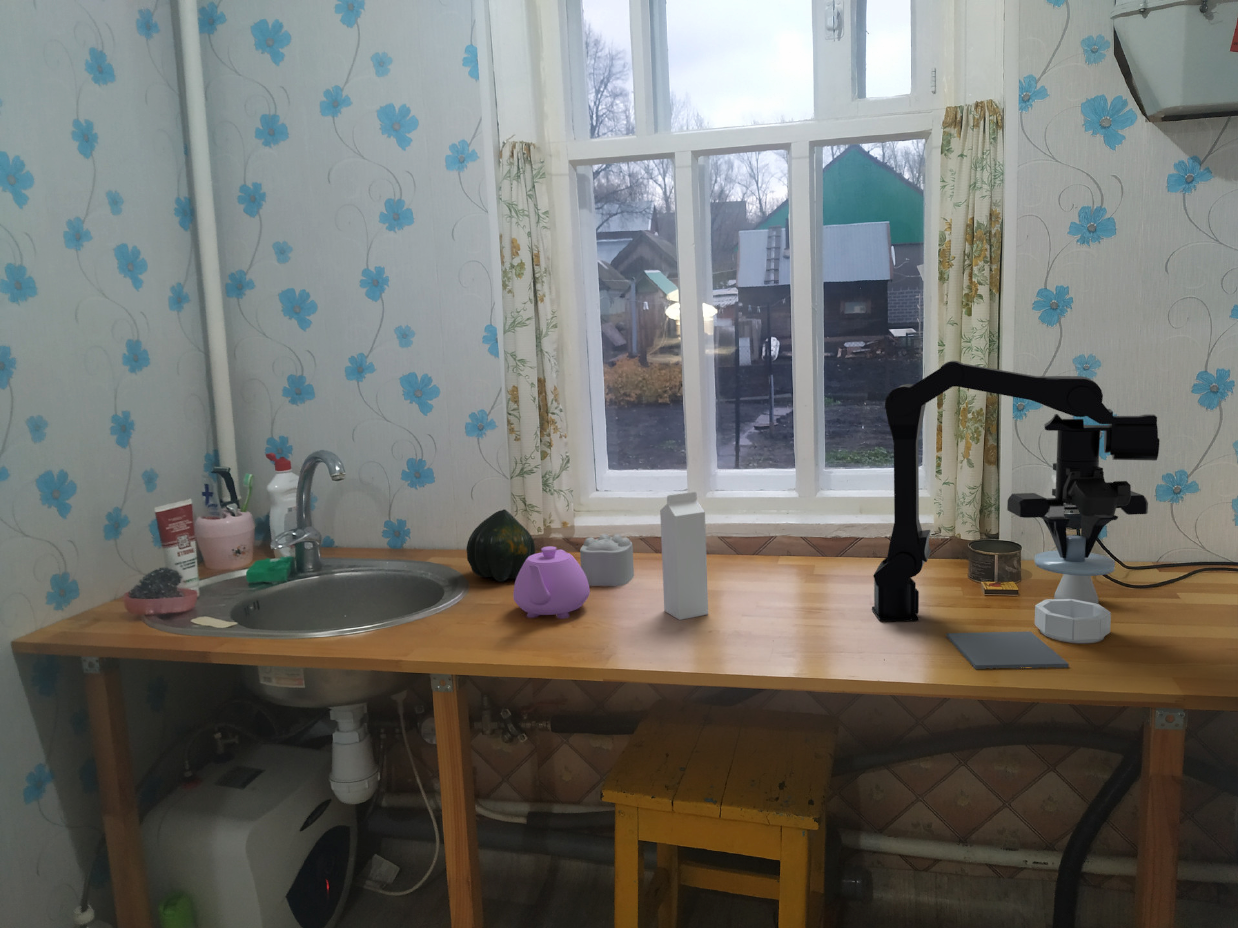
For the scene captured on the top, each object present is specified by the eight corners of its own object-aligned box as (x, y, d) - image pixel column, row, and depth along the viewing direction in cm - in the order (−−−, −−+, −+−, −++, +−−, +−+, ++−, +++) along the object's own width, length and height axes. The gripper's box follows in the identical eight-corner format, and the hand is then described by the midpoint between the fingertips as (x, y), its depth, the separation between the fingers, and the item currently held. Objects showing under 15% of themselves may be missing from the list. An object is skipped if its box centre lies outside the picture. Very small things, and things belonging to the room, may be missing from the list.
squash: (468, 567, 167) (509, 505, 171) (444, 555, 180) (483, 498, 184) (520, 602, 173) (559, 542, 177) (494, 588, 186) (531, 532, 190)
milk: (708, 614, 149) (705, 494, 145) (678, 620, 146) (674, 498, 143) (692, 605, 154) (689, 488, 151) (663, 610, 152) (659, 492, 148)
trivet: (975, 669, 120) (975, 665, 120) (946, 636, 133) (946, 633, 132) (1068, 667, 119) (1068, 663, 119) (1030, 634, 132) (1030, 631, 131)
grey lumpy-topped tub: (577, 585, 170) (575, 544, 169) (593, 568, 182) (590, 529, 181) (626, 586, 168) (624, 545, 166) (639, 568, 180) (637, 529, 179)
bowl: (1053, 644, 127) (1054, 620, 127) (1026, 623, 137) (1027, 599, 136) (1119, 643, 126) (1120, 618, 126) (1088, 621, 136) (1089, 598, 135)
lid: (1053, 576, 125) (1054, 547, 124) (1023, 557, 136) (1023, 530, 135) (1129, 574, 124) (1130, 545, 123) (1093, 555, 135) (1094, 528, 134)
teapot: (573, 632, 143) (569, 564, 141) (495, 629, 146) (491, 563, 144) (601, 596, 162) (598, 535, 160) (532, 594, 165) (528, 535, 163)
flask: (1105, 607, 142) (1108, 550, 141) (1060, 606, 144) (1062, 550, 142) (1091, 594, 149) (1093, 540, 148) (1047, 593, 151) (1049, 540, 149)
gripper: (1037, 469, 120) (1034, 573, 122) (1172, 465, 119) (1166, 570, 121) (1007, 458, 131) (1004, 554, 133) (1130, 454, 130) (1125, 550, 132)
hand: (1074, 557), depth 130 cm, fingers closed on lid, 3 cm apart
